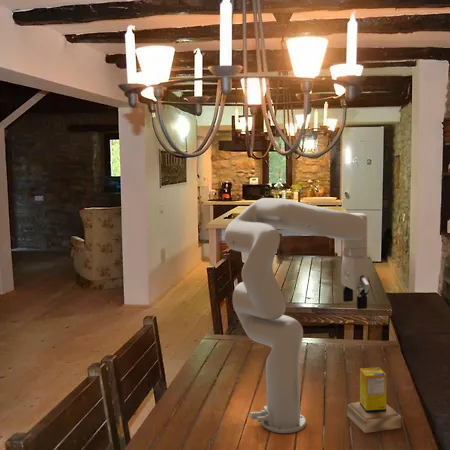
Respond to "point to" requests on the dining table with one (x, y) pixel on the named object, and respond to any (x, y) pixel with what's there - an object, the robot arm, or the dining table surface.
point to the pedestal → (373, 418)
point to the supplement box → (372, 389)
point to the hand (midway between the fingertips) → (354, 304)
